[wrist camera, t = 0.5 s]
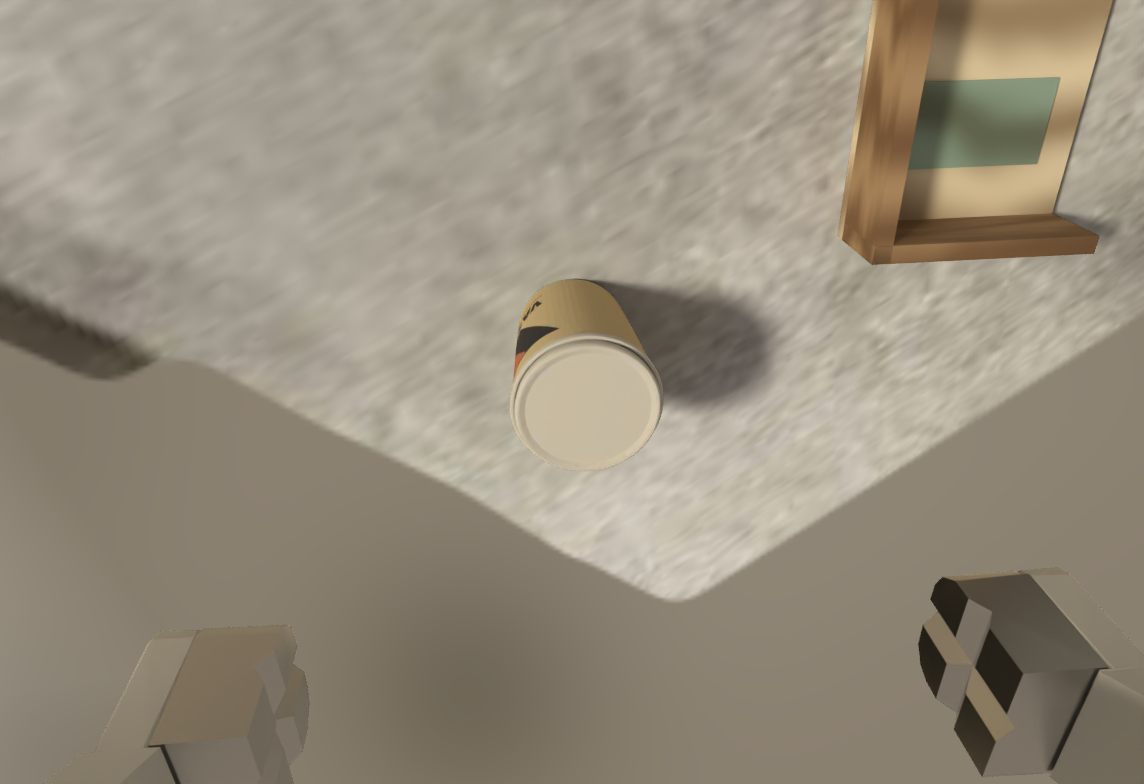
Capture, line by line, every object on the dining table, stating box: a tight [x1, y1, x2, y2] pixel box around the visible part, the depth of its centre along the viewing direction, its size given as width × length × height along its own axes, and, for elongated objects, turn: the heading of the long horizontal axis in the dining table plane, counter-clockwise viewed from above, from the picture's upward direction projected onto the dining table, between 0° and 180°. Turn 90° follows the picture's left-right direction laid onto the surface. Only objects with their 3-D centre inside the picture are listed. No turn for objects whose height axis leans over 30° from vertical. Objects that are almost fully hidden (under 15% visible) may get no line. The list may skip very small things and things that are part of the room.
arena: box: [838, 0, 1113, 265], centre depth 50 cm, size 16×15×6 cm
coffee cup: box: [510, 279, 664, 471], centre depth 52 cm, size 9×9×12 cm
